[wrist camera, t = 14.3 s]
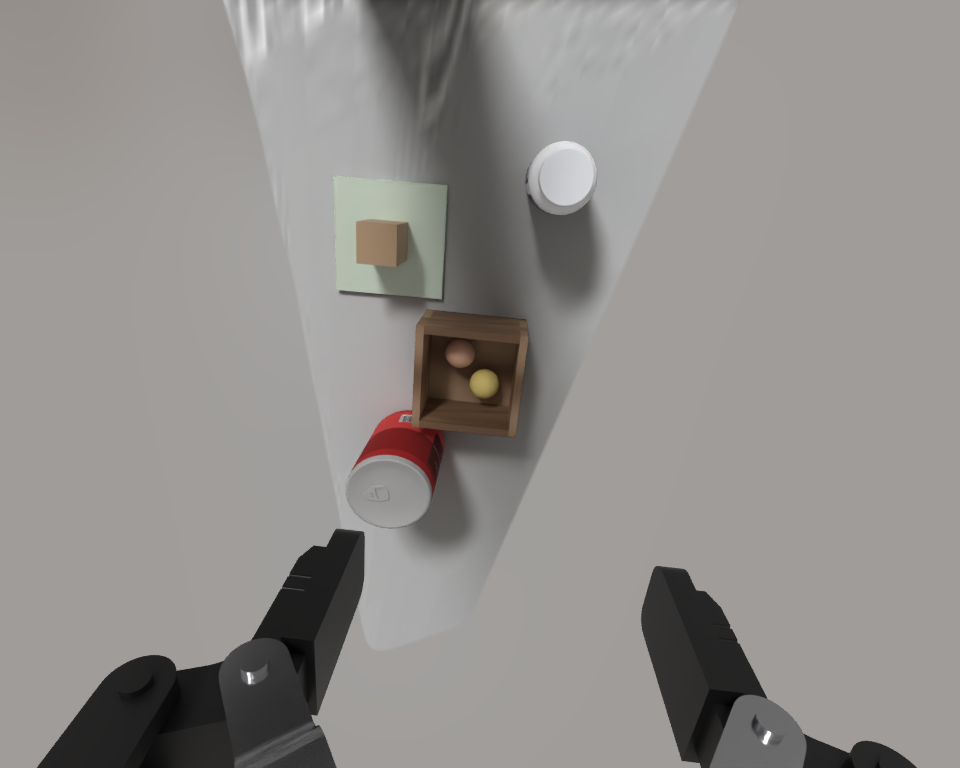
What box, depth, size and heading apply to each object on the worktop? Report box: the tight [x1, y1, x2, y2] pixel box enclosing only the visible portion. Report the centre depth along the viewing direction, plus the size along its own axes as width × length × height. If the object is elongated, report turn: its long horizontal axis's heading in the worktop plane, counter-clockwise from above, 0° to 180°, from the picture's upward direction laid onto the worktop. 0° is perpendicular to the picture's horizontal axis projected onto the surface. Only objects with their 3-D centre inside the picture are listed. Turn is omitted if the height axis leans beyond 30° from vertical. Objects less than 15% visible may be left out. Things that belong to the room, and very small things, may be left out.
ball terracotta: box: [445, 338, 475, 368], centre depth 49 cm, size 3×3×3 cm
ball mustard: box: [470, 369, 499, 399], centre depth 50 cm, size 3×3×3 cm
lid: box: [333, 176, 448, 299], centre depth 45 cm, size 10×10×6 cm
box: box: [412, 310, 529, 438], centre depth 48 cm, size 10×10×6 cm
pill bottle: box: [526, 141, 597, 215], centre depth 40 cm, size 5×5×10 cm
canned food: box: [346, 410, 444, 528], centre depth 50 cm, size 8×8×11 cm
